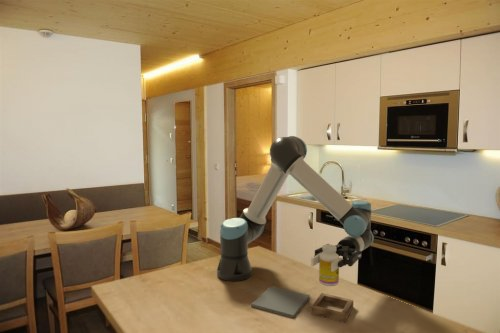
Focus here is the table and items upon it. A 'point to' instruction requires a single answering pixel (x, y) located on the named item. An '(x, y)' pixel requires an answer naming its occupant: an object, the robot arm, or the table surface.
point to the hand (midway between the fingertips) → (322, 264)
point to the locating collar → (329, 313)
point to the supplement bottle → (328, 266)
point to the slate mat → (281, 301)
